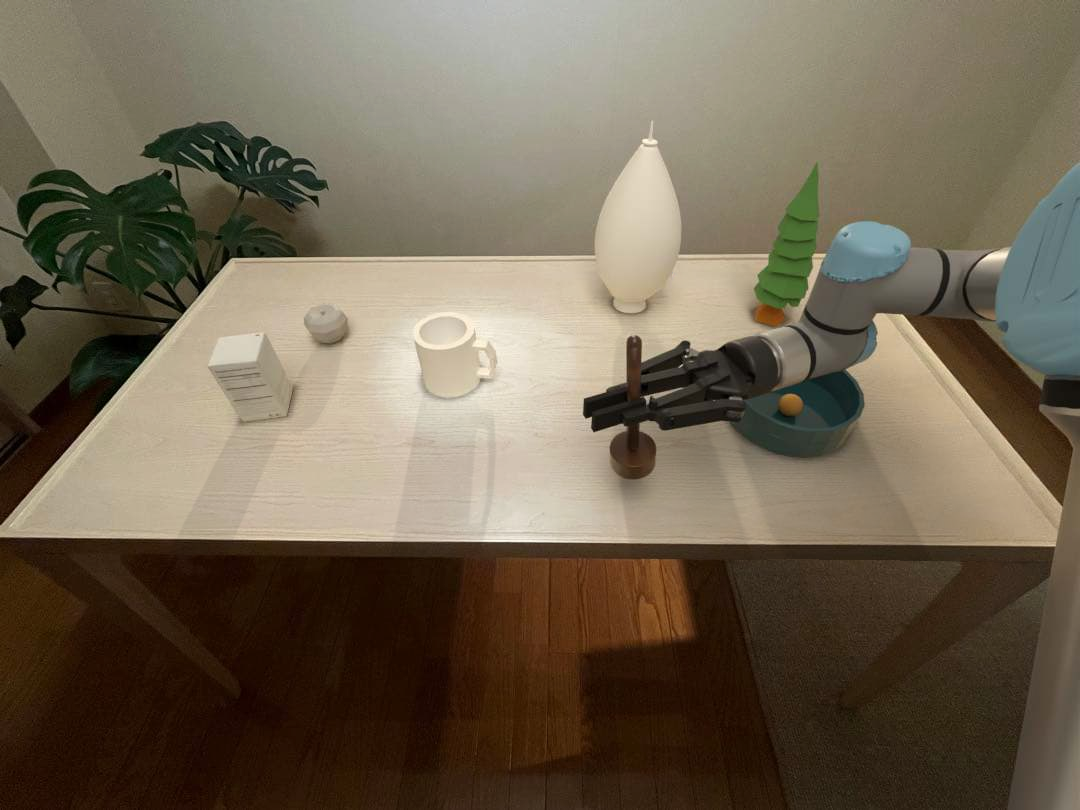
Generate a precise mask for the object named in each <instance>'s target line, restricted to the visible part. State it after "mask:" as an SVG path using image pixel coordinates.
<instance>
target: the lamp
mask: <svg viewBox="0 0 1080 810" xmlns="http://www.w3.org/2000/svg"><path fill="white" fill-rule="evenodd" d="M658 144H659V142H658V140H656V139H655V138H654V120H651V122H650V126H649V131H648V137H647V138H643V139H642V140H641V144H640V145H639V147H638V148H637V149H636V150H635V151H634V153H633V155H632V156H631V158H630V159H629V161H628V162H627V163H626V164H625V166H624V168H623V170H622V171H621V172H620V174H619V175H618V177H617V178H616V180H615V182H614V184H613V186H612V187H611V189H610V190H609V193H608V195H606V198H605V200H604V202H603V205H602V208H601V211H600V213H599V216H598V219H597V224H596V229H595V234H594V258H595V263H596V268H597V271H598V274H599V276H600V279H601V281H602V282H603V285H604V286H605V287H606V289H607V290H608V291H609V293H610V294H611V295H612V296H613V297H614V298H613V302H612V303H613V307H614V308H615V309H616V310H617V311H618V312H621V313H624V314H638V313H640V312H643V311H644V310H646V307H647V301H646V300H648V299H650V298H652V297H653V296H654V295H655V294H656V293H658V292H659V291H660V290H661V288H663V287H664V285H665V284H666V283H667V282H668V280H669V279H670V277H671V275H672V274H673V271H674V268H675V266H676V264H677V261H678V258H679V255H680V252H681V251H680V250H681V245H682V216H681V209H680V204H679V201H678V197H677V194H676V190H675V187H674V184H673V181H672V178H671V176H670V173H669V171H668V168H667V165H666V163H665V161H664V159H663V156H662V154H661V152H660V149H659V147H658Z"/></svg>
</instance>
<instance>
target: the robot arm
mask: <svg viewBox="0 0 1080 810" xmlns="http://www.w3.org/2000/svg"><path fill="white" fill-rule="evenodd" d="M911 241H912V240H911V239H910V237H909V235H908V234H906V232H904V231H903V230H901V229H899V228H898V227H895V226H893V225H891V224H881V223H879V222H878V221H870V220H869V221H868V220H867V221H865V220H864V221H856V222H852V223H849V224H847V225H845V226H843V227H842V228H841V229H840V230H838V232H837V233H836V234H835V236H834V238H833V239H832V242H831V243H830V245H829V247H828V249H827V251H826V254H825V255H824V257H823V258H822V260H821V264H820V265H819V266H820V267H819V270H818V273H817V275H816V278H815V280H814V283H813V286H812V288H811V291H810V293H809V295H808V298H807V301H806V303H805V306H804V308H803V310H802V312H801V315H800V317H799V319H798V320H797V321H796V322H793V323H790V324H787V325H783V326H780V327H778V328H774V329H769V330H765V331H763V332H758V333H755V334H753V335H748V336H744V337H741V338H738V339H735V340H731V341H728V342H726V343H724V344H723V345H721V346H720V347H718V348H717V349H714V350H713V349H711V350H709V349H706V350H705V349H704V350H701V351H699V350H696V349H694V348H692V347H691V345H692V344H691V342H690V341H689V340H686V339H685V340H682V341H681V342H679V343H678V344H677V345H676V346H675V347H674V348H672V349H669V350H667V351H665V352H662V353H661V354H658V355H656V356H654V357H650V358H649V359H646V360H643V361H641V396H640V398H638V399H634V400H630V401H627V402H626V382H622V383H619V384H617V385H612V386H609V387H608V388H605V389H606V390H605V392H601V393H598V394H595V395H591V396H588V397H584V398H583V405H582V416H583V417H584V419H585V420H587V419H590V418H591V424H590V429H591V431H592V432H593V433H597V432H599V431H603V430H606V429H609V428H613V427H616V426H619V425H623V426H624V427H627V426H632V425H635V424H638V423H640V424H641V423H644V422H654V423H656V424H657V425H658V429H660V430H661V431H664V432H666V431H673V430H678V429H683V428H690V427H694V426H695V427H696V426H700V425H706V424H712V423H718V422H730V423H731V422H740V421H741V420H742V417H743V415H744V412H745V409H746V407H747V403H746V402H745V401H743V400H748V399H751V398H754V397H757V396H760V395H763V394H767V393H769V392H770V391H775V390H778V389H781V388H785V387H788V386H791V385H794V384H797V383H800V382H803V381H806V380H808V379H812V378H815V377H819V376H822V375H826V374H829V373H833V372H839V371H843V370H845V369H846V370H847V369H850V368H851V367H853V366H856V365H858V364H860V363H863V362H865V361H867V360H868V359H869V358H870V357H871V356H873V354H874V352H875V351H876V348H877V346H878V341H877V336H878V328H877V325H876V323H875V321H874V318H875V317H876V315H877V314H884V315H885V314H887V315H901V316H902V315H903V316H916V317H917V316H918V317H935V318H936V317H937V318H946V319H960V320H972V321H973V320H974V321H981V322H982V321H983V322H992V323H996V327H997V329H998V330H999V331H1000V332H1001V333H1002V332H1003V333H1005V334H1004V335H1003V337H1002V344H1003V345H1004V346H1005V348H1006V350H1007V351H1008V352H1009V354H1010V355H1011V356H1012V357H1013V358H1015V359H1016V360H1017V361H1018V362H1020V363H1022V364H1023V365H1025V366H1026V367H1029V368H1031V369H1032V370H1034V371H1036V372H1037V373H1038V374H1041V375H1044V376H1043V382H1042V387H1041V392H1040V393H1041V394H1040V399H1039V406H1038V411H1039V412H1040V413H1042V415H1043V416H1044V417H1045V418H1047V420H1049V421H1050V422H1051V424H1053V425H1054V426H1055V427H1056V428H1057V429H1058V430H1059V431H1060V432H1061V433H1063V434H1064V436H1066V438H1067V439H1068V441H1069V443H1070V446H1071V447H1072V452H1071V453H1072V455H1071V459H1070V465H1069V469H1068V476H1067V481H1066V487H1065V492H1064V496H1063V503H1062V508H1061V514H1060V519H1059V524H1058V525H1059V526H1058V530H1057V536H1056V541H1055V546H1054V552H1053V557H1052V561H1051V562H1052V563H1051V568H1050V574H1049V578H1048V584H1047V590H1046V594H1045V595H1046V596H1045V600H1044V606H1043V612H1042V617H1041V622H1040V627H1039V634H1038V640H1037V645H1036V650H1035V654H1034V655H1035V656H1034V661H1033V666H1032V672H1031V677H1030V684H1029V688H1028V693H1027V699H1026V705H1025V709H1024V715H1023V721H1022V725H1021V732H1020V737H1019V743H1018V748H1017V753H1016V759H1015V764H1014V769H1013V775H1012V780H1011V786H1010V792H1009V798H1008V802H1007V808H1006V810H1080V161H1079V162H1077V163H1076V164H1075V165H1074V166H1072V168H1070V169H1069V170H1068V171H1067V172H1066V173H1065V174H1064V175H1063V176H1062V177H1061V179H1060V180H1059V181H1058V183H1056V185H1055V187H1053V189H1052V190H1051V191H1050V192H1049V194H1047V195H1046V196H1045V197H1044V198H1042V199H1041V200H1040V202H1039V203H1038V204H1037V205H1036V207H1034V209H1033V210H1032V212H1031V214H1030V215H1029V217H1028V218H1027V219H1026V221H1025V222H1024V224H1023V225H1022V227H1021V229H1020V231H1019V233H1017V236H1016V237H1015V239H1014V241H1013V243H1012V245H1011V246H1006V247H998V248H989V249H979V250H978V249H974V250H971V249H968V250H966V249H940V248H930V247H915V246H914V247H911V246H912V243H911ZM673 390H674V391H673ZM669 391H670V392H669ZM671 391H672V392H671ZM664 392H669V393H666V394H664V395H661V396H658V397H656V398H655V397H654V395H655V394H656V395H657V394H661V393H664ZM647 396H650V397H649V399H648V400H647V399H646V398H645V397H647ZM647 402H648V403H647Z"/></svg>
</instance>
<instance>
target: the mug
mask: <svg viewBox="0 0 1080 810" xmlns="http://www.w3.org/2000/svg"><path fill="white" fill-rule="evenodd" d="M412 337H413V341H414V345H415V350H416V354H417V358H418V362H419V366H420V370H421V374H422V378H423V384H424V387H425V388H426V390H427V391H428V392H429V393H430V394H433V395H434V396H435V397H441V398H447V399H449V398H457V397H462V396H464V395H467V394H468V393H471V392H472V391H474V390H475V389H476V388H477V387H478V385H479V384H480V383H481V380H482V379H489V380H493V376H494V375H495V374H494V373H495V372H496V367H497V364H498V356H497V352H496V349H495V348H494V347H493V345H492V344H491V342H490V341H489V340H486V339H485V340H484V339H477V333H476V326H475V324H474V321H473V320H472V319H471V318H470V317H469V316H467V315H465V314H462V313H459V312H455V311H441V312H437V313H432V314H430V315H428V316H425V317H423V318H422V319H420V320H419V321H418V322H417V323H416V325H415V326H414V327H413V330H412ZM479 351H481V352H484V353H485V354H486V356H487V358H488V361H489V366H490V367H482V366H481V363H480V355H479Z"/></svg>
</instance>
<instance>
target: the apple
mask: <svg viewBox="0 0 1080 810" xmlns="http://www.w3.org/2000/svg"><path fill="white" fill-rule="evenodd" d="M348 322H349V321H348V316H347V315H346V314H345V313H344V311H343V310H342V309H341V307H340V306H339V304H335V303H334V304H333V303H322V304H318V305H315V306H313V307H311V308H309V310H308V311H307V312H306V314H305V315H304V316H303V326H305V328H306V329H307V331H308V332H309V334H310V335H311V336H312V337H313V339H315V340H316V341H318V342H319V343H323V344H334V343H337V342H340V341H341V340H342V338H343V337H344V336H345V334H346V332H347V329H348V327H349V323H348Z"/></svg>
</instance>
